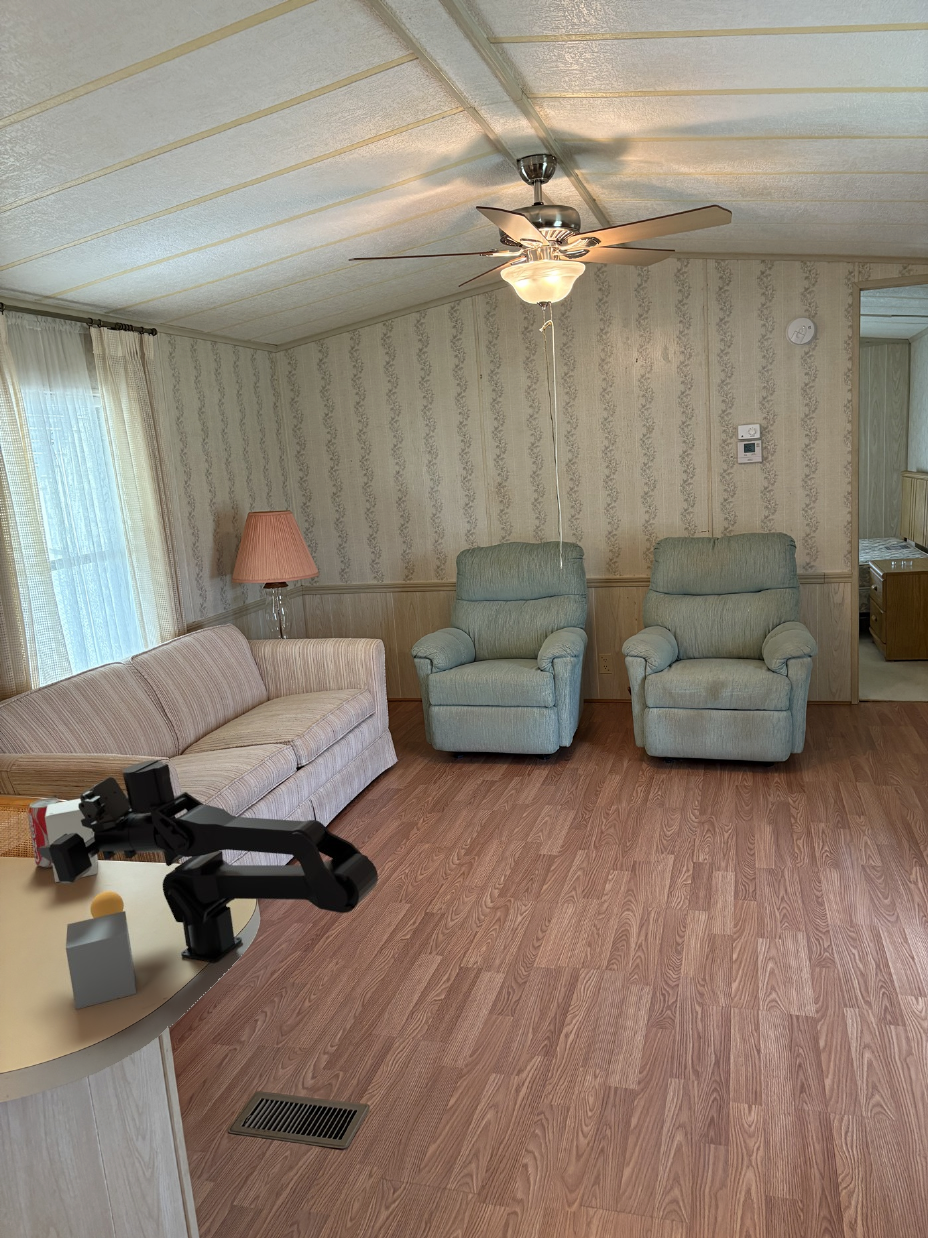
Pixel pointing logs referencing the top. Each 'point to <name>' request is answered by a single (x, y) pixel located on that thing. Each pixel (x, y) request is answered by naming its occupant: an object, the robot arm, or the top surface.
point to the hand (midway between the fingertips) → (61, 836)
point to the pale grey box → (100, 959)
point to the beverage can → (39, 828)
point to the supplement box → (68, 827)
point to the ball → (106, 904)
